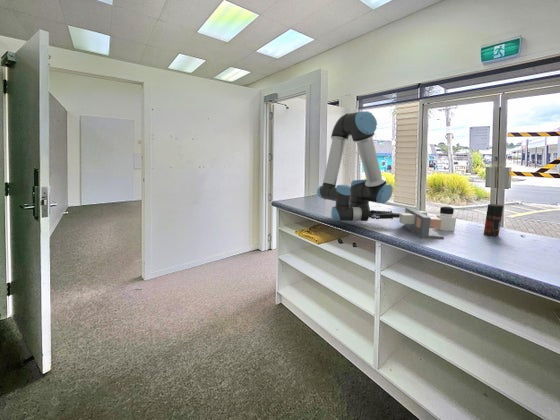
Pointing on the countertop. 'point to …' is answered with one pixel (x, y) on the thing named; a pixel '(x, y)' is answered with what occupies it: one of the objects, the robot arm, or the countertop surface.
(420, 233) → the grey slotted block
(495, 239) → the countertop surface
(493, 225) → the deodorant
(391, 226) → the countertop surface
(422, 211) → the sage key
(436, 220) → the terracotta key
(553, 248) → the countertop surface
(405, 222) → the cream key
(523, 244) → the countertop surface
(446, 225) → the medicine bottle
